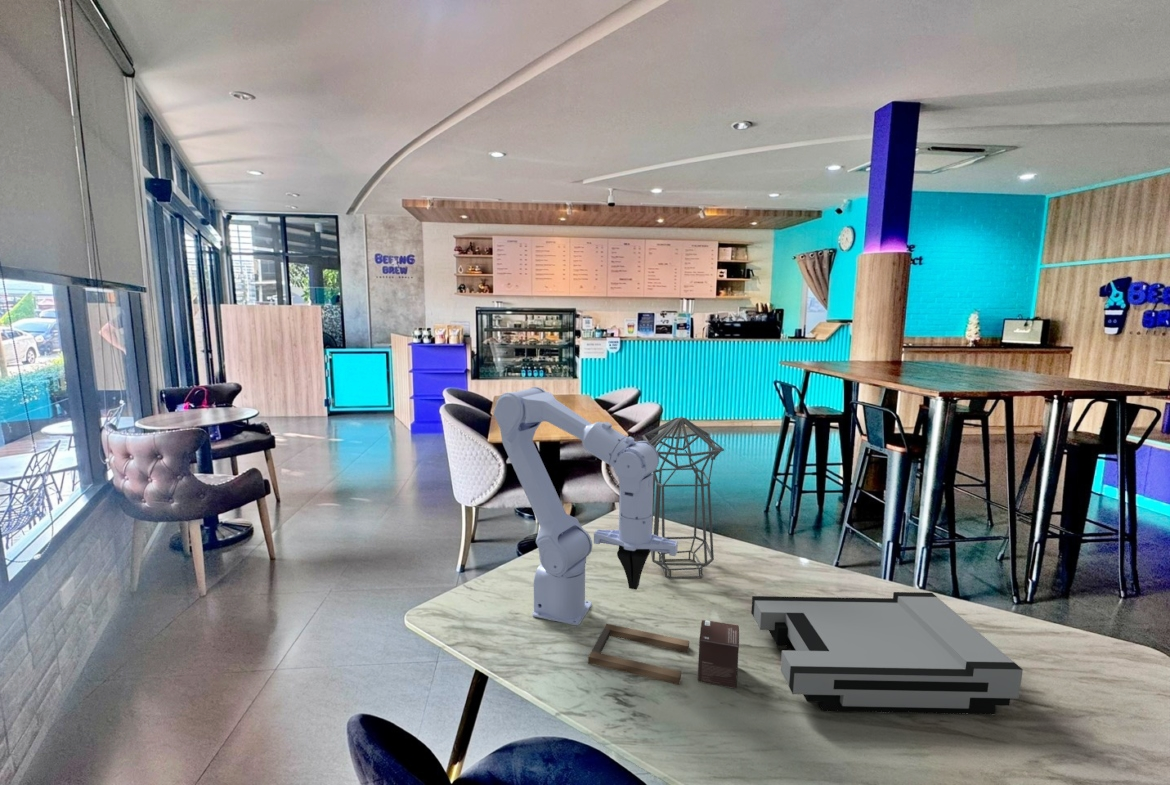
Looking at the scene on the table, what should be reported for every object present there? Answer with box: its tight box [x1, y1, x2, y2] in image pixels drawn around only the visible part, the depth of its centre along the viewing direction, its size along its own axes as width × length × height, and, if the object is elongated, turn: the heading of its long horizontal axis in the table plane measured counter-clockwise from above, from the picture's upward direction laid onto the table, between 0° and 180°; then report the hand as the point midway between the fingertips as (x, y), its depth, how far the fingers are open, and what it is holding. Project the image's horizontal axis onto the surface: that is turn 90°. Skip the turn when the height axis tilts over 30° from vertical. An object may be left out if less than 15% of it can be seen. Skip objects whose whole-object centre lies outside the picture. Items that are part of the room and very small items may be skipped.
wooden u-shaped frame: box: [587, 623, 690, 686], centre depth 91 cm, size 15×10×1 cm, turn 70°
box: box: [697, 619, 740, 689], centre depth 86 cm, size 6×6×7 cm
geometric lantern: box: [641, 416, 725, 579], centre depth 118 cm, size 16×16×35 cm
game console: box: [751, 591, 1024, 715], centre depth 87 cm, size 21×32×8 cm, turn 89°
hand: (634, 586), depth 95 cm, fingers closed
